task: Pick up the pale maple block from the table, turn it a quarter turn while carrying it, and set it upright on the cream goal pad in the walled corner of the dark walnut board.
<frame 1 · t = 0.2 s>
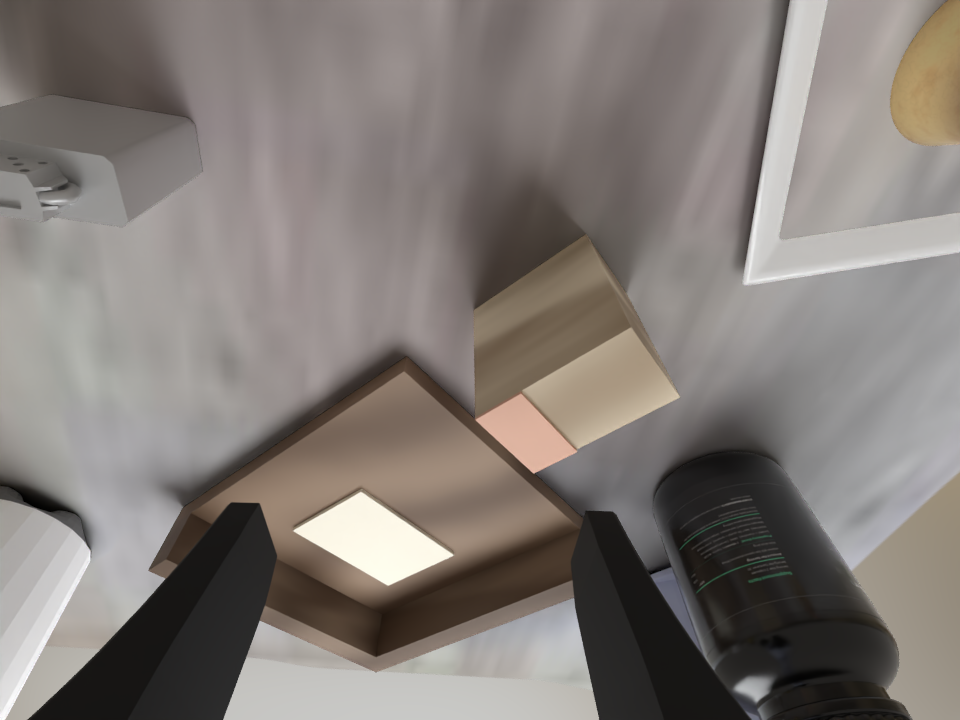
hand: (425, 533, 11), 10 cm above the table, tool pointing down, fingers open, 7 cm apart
lighter: (79, 127, 15), on the table
maple block: (549, 301, 19), on the table
cup: (25, 521, 27), on the table
dessert: (956, 60, 15), on the table
corner board: (392, 516, 27), on the table
supplement bottle: (714, 488, 26), on the table
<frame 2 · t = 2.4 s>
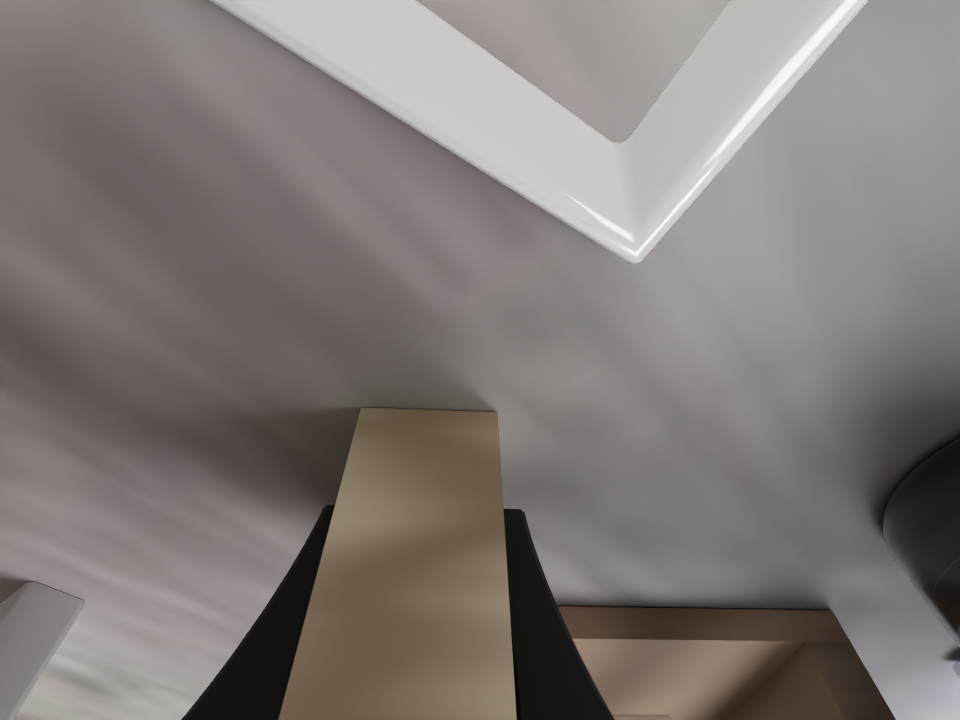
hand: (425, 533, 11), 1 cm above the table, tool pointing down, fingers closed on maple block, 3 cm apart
lighter: (15, 621, 17), on the table
maple block: (429, 483, 12), on the table, touching gripper
corner board: (571, 700, 21), on the table
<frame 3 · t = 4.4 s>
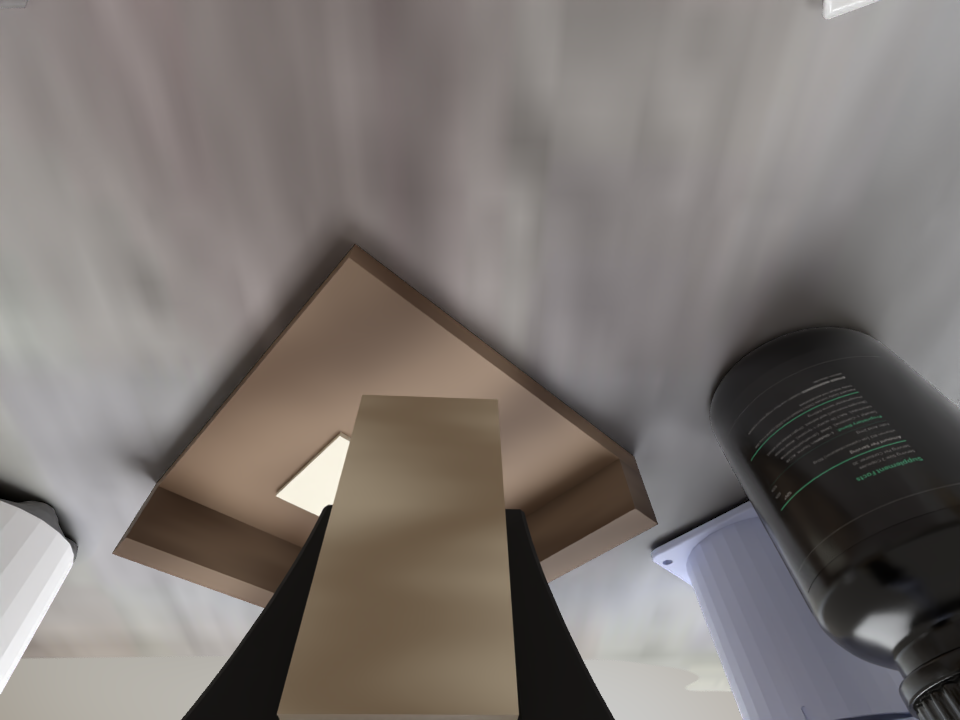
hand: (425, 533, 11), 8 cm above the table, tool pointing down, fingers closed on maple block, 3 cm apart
maple block: (430, 471, 12), point 7 cm above the table, touching gripper
cup: (2, 519, 24), on the table
corner board: (392, 470, 22), on the table
supplement bottle: (788, 388, 20), on the table
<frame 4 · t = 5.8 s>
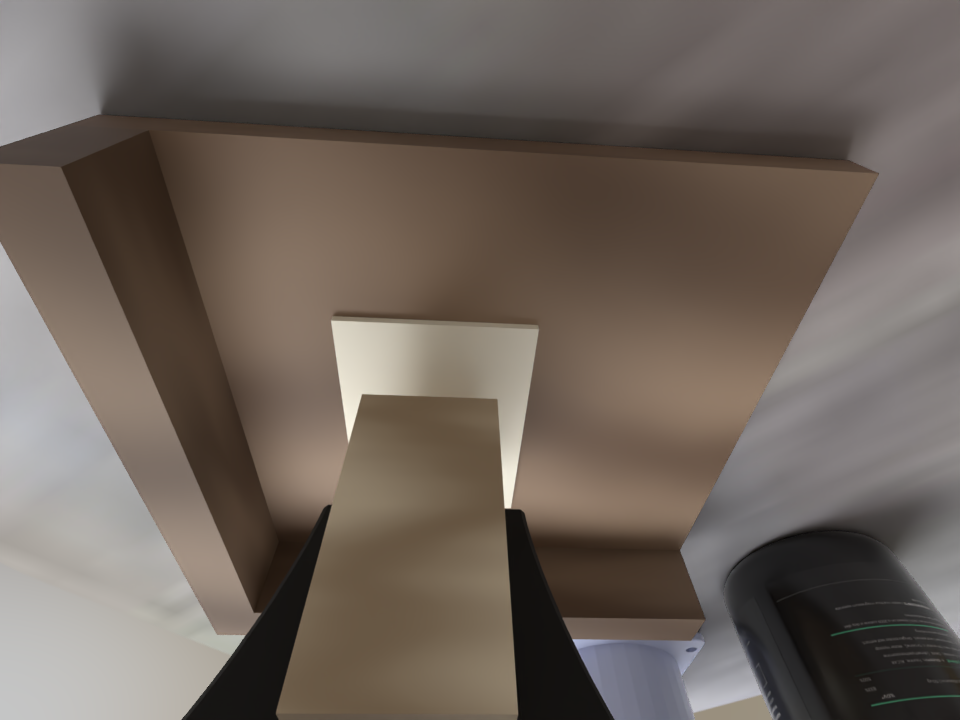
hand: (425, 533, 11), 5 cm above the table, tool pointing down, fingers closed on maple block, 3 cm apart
maple block: (430, 471, 12), point 3 cm above the table, touching gripper
corner board: (470, 402, 15), on the table
supplement bottle: (798, 568, 21), on the table
when the fingers open (3 cm above the table, at t = 6.7 s): maple block stays where it is, resting on corner board.
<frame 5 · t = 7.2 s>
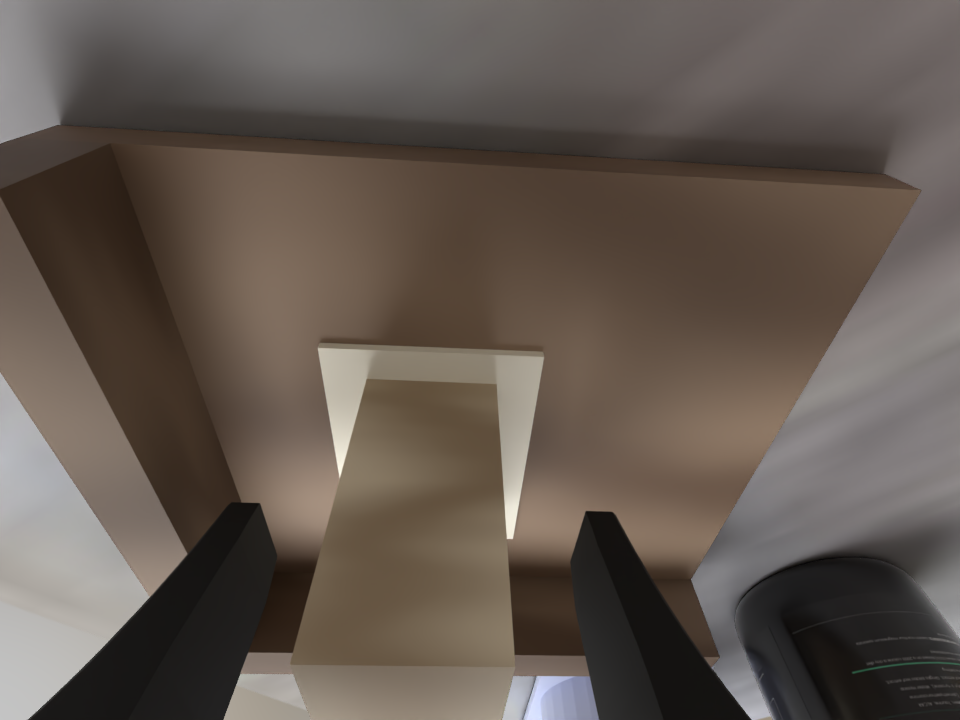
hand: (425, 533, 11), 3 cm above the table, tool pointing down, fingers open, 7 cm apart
maple block: (431, 455, 13), point 1 cm above the table, touching corner board
corner board: (469, 428, 14), on the table
supplement bottle: (813, 594, 20), on the table
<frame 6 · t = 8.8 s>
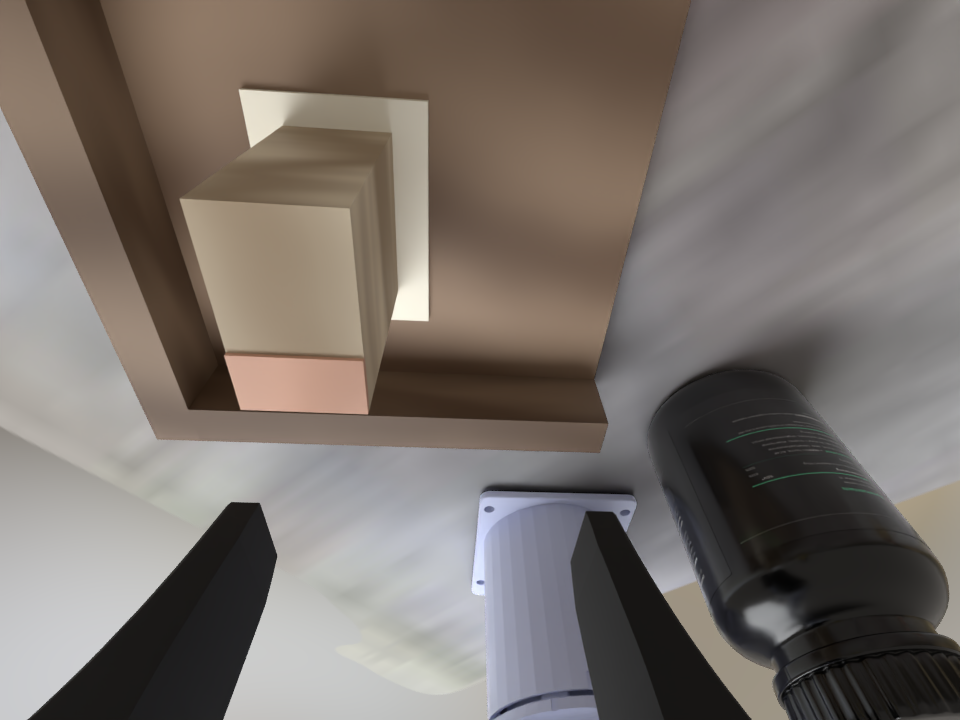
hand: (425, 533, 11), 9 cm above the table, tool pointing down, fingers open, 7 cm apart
maple block: (346, 216, 15), point 1 cm above the table, touching corner board
corner board: (385, 210, 16), on the table
supplement bottle: (717, 420, 23), on the table
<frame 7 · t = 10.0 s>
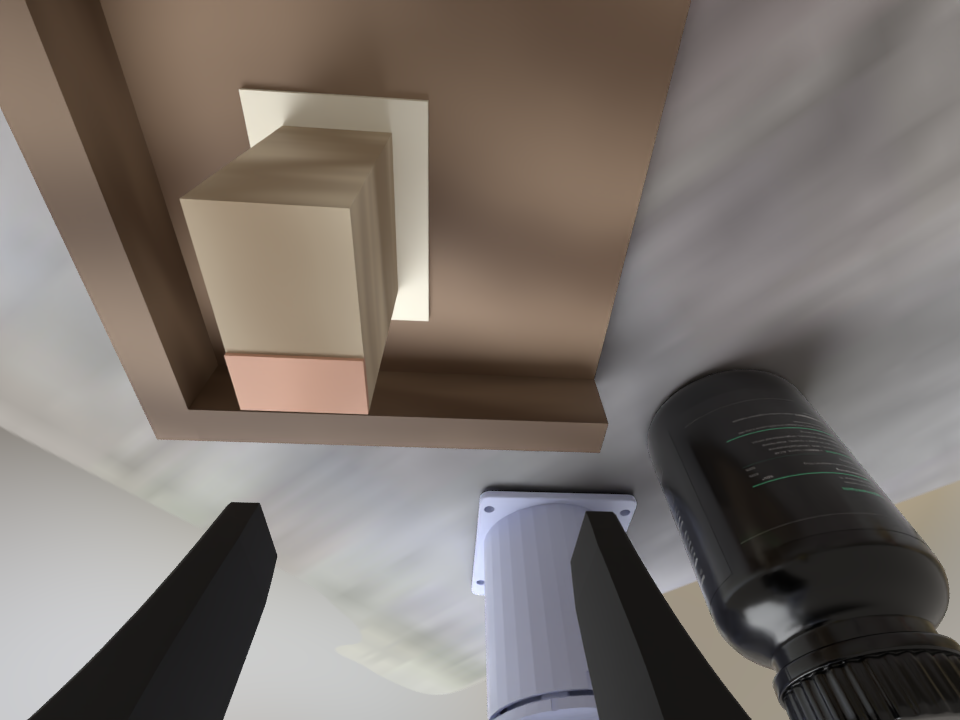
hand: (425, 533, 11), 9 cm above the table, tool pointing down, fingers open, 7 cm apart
maple block: (346, 216, 15), point 1 cm above the table, touching corner board
corner board: (385, 210, 16), on the table
supplement bottle: (717, 420, 23), on the table
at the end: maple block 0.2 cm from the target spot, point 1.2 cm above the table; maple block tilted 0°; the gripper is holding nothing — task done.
